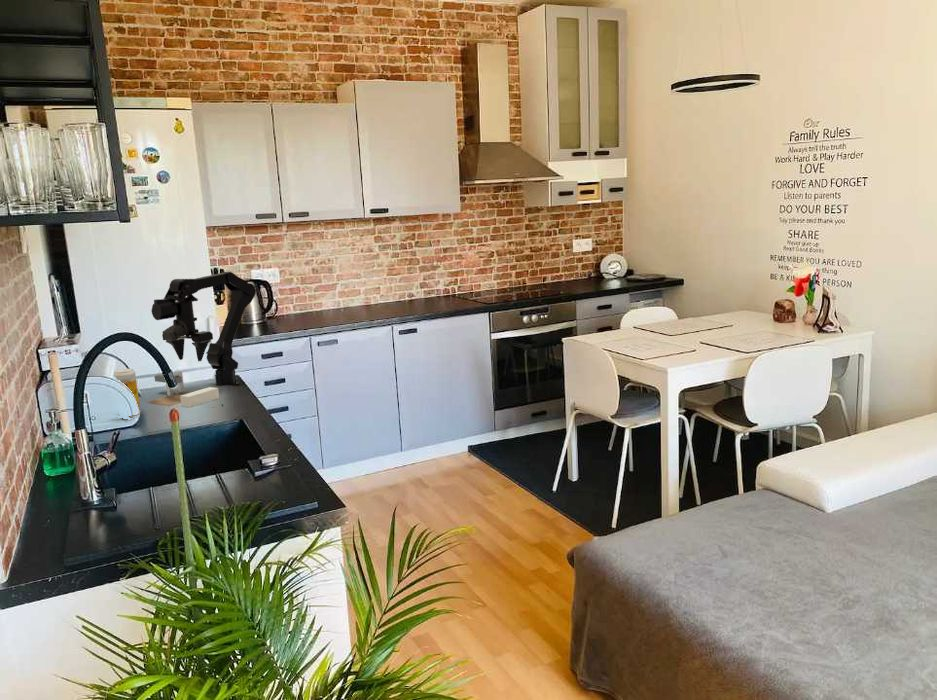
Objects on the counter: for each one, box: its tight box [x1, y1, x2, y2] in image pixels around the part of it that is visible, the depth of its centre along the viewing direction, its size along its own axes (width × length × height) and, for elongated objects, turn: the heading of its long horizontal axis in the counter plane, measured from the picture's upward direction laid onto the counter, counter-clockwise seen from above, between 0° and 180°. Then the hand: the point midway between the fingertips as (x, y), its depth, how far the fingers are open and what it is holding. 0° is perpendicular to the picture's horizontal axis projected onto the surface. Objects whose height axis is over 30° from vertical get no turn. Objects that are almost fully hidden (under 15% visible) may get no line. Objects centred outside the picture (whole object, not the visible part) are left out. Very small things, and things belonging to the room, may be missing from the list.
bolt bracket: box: [165, 371, 185, 397], centre depth 253 cm, size 6×2×7 cm, turn 151°
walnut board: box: [145, 391, 189, 407], centre depth 248 cm, size 15×12×1 cm
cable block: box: [180, 386, 220, 408], centre depth 242 cm, size 12×4×4 cm, turn 150°
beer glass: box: [113, 368, 142, 414], centre depth 229 cm, size 6×6×15 cm
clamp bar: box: [153, 373, 182, 385], centre depth 254 cm, size 2×11×2 cm, turn 61°
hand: (190, 360), depth 255 cm, fingers open, 9 cm apart
